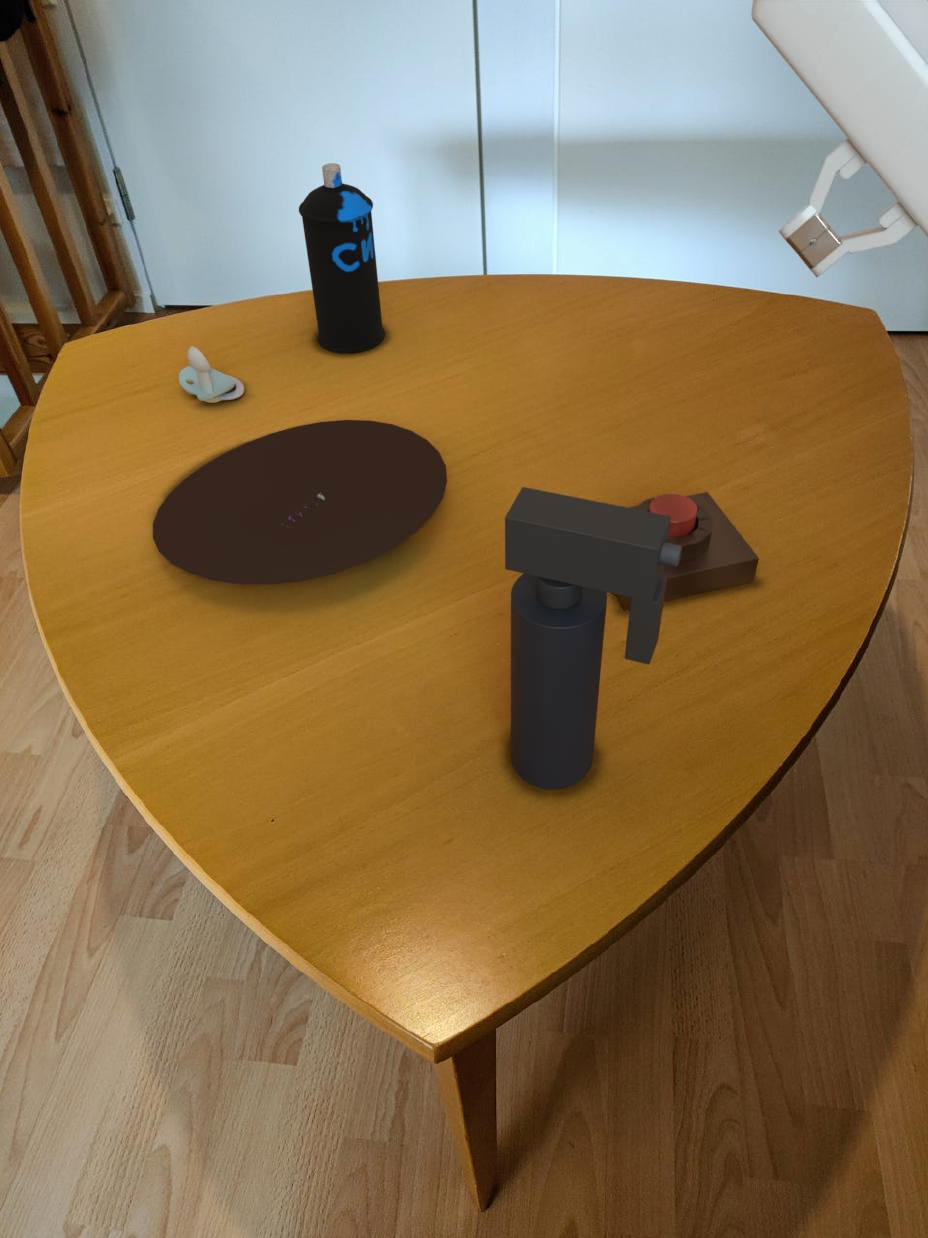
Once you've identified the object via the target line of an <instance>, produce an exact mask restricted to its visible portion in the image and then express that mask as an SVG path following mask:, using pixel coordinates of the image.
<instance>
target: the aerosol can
mask: <svg viewBox="0 0 928 1238" xmlns="http://www.w3.org/2000/svg"><path fill="white" fill-rule="evenodd" d="M321 171H322V178H323V185H320V186H318V187H316V188H315V189H313V190H311V191H310V192H309V193H308V194H307V195H306V197H305V198H304V200H303V201H302V202H300V204H299V206H298V213H299V215H300V216H301V220H302V227H303V234H304V241H305V248H306V254H307V255H306V256H307V261H308V267H309V275H310V282H311V289H312V296H313V302H314V303H313V304H314V311H315V317H316V318H315V319H316V325H317V331H318V333H317V339H316V340H317V342H318V344H319V345H320V347H321V348H323V349H324V350H327V351H330V352H331V353H337V354H357V353H363V352H366V351H369V350H371V349H374V348H375V347H378V346H379V345H380V344H381V343H382V342H383V341H384V340H385V337H386V330H385V328H384V326H383V319H382V308H381V299H380V288H379V287H380V286H379V278H378V276H379V275H378V268H377V267H378V266H377V256H376V246H375V238H374V237H375V236H374V226H373V217H372V216H373V214H372V211H373V208H374V202H373V200H372V199H371V198H370V197H369V196H367V195H366V194H365V193H364V192H363V191H361V190H360V189H359V188H358V187H356V186H354V185H351V184H347V183H343V180H342V179H343V177H342V170H341V165H340V164H339V163H337V162H336V163H334V162H330V163H325V164H323V165H322V166H321Z"/></svg>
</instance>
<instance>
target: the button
mask: <svg viewBox="0 0 928 1238" xmlns="http://www.w3.org/2000/svg"><path fill="white" fill-rule="evenodd" d="M685 496H686V495H682V494H677V493H664V494H661V495H658V496H655V497H653V498H654V499H653V500H652V502H651V503H650V507H649V512H652V513H657V514H662V515H667V516H670V517H671V520H670V528H669V535H668V537H681V536H686V535H688V534H690V533H691V532H692V531H693V529H694V527H695V522H696V515H697V507H696V505H695V503H694V502H693V501H692V500H691V499H689V498H687V497H685Z"/></svg>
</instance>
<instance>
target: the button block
mask: <svg viewBox="0 0 928 1238" xmlns="http://www.w3.org/2000/svg"><path fill="white" fill-rule="evenodd" d="M684 496H685V497H687V498H689V499H691V500H692V501H693V502H694V503H695V505H696V507H697V515H696V522H695V527H694V529H693V531H692V532H691V533H690V534H688V535H686V536H681V537H668V542H667V543H669V544H674V545H679V546H682V552H681V557H680V561H679V564H678V566H677V567H676V566H671V565H667V564H664V569H663V572H662V575H661V577H663V578H667V582H666V589H665V596H664V602H668V601H673V600H677V599H681V598H686V597H691V596H695V595H696V596H697V595H700V594H705V593H709V592H714V591H718V590H719V591H720V590H723V589H728V588H733V587H737V586H741V585H746V584H750V583H754V582H755V578H756V573H757V570H758V564H759V560H760V559H759V556H758V554H756V552H755V550H753V548H752V547H751V546H750V545H749V544H748V542H747V541H746V540H745V538H744V537H743V536H742V534H741V533H740V531H738V529H737V528H736V526H735V525H734V524H733V522H732V521H731V520H730V519H729V518H728V516H727V515H726V514H725V512H724V511H723V509H721V508H720V506H719V504H718V503H717V502H716V501H715V500H714V498H713V497H712V496H711V494H710V493H709V492H708V491H704V492H700V493H694V494H690V495H689V494H688V495H684ZM654 498H655V497H652V498H651V497H650V498H647V499H645V500H643V501H642V502H640V503H639V504H637V505H634V506H630V507H628V508H632V509H637V510H642V511H647V512H649V507H650V503H651V502H652V500H653V499H654ZM614 595H615V597H616V598H617V599H618V602H619V603H620V605H621V606H622V609H623V610H624V611H627V610H630V605H631V597H626V596H622V595H618V594H614Z"/></svg>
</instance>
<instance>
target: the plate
mask: <svg viewBox="0 0 928 1238" xmlns="http://www.w3.org/2000/svg"><path fill="white" fill-rule="evenodd" d="M447 473H448V472H447V465H446V463H445V461H444V459H443V457H442V455H441V453H440V451H439V450H438V449H437V448H436V447H435V446H434V445H433V444H432V443H431V442H430V441H429V440H428V439H426V438H425V437H423V436H421V435H419V434H418V433H416V432H415V431H413V430H410V429H408V428H404V427H403V426H399V425H395V424H392V423H387V422H383V421H382V422H380V421H376V420H367V419H366V420H365V419H363V420H362V419H339V420H338V419H337V420H329V421H328V420H327V421H319V422H312V423H308V424H304V425H302V424H301V425H297V426H293V427H290V428H286V429H282V430H279V431H275V432H271V433H269V434H266V435H262V436H260V437H257V438H255V439H252V440H250V441H247V442H245V443H243V444H241V445H238V446H236V447H234V448H232V449H230V450H229V451H226V452H224V453H222V454H220V455H219V456H217V457H215V458H214V459H212V460H211V461H209V462H207V463H205V464H203V465H202V466H200V467H199V468H198V469H196V470H194V471H193V472H192V473H191V474H189V475H188V476H187V477H185V478H184V479H183V480H182V481H181V482H180V483H179V484H178V485H177V486H175V487H174V488H173V489H172V490H171V491H170V492H169V493H168V494H167V496H166V497H165V498H164V500H163V501H162V503H161V504H160V506H159V507H158V508H157V511H156V513H155V516H154V519H153V522H152V539H153V541H154V544H155V546H156V549H157V551H158V553H160V554H161V556H163V557H164V558H165V560H167V561H168V562H169V563H170V564H171V565H173V566H174V567H177V568H179V569H181V570H182V571H184V572H186V573H188V574H190V575H192V576H197V577H199V578H203V579H205V580H208V581H209V580H210V581H213V582H219V583H226V584H227V583H229V584H234V585H235V584H236V585H280V584H288V583H298V582H305V581H310V580H314V579H318V578H322V577H326V576H332V575H335V574H339V573H342V572H344V571H348V570H350V569H353V568H356V567H358V566H361V565H364V564H368V563H369V562H371V561H374V560H375V559H377V558H379V557H382V556H383V555H385V554H386V553H389V552H391V551H393V550H394V549H396V548H397V547H399V546H400V545H402V544H404V542H406V541H407V540H408V539H410V538H411V537H413V536H414V535H416V534H417V533H418V532H419V531H420V530H421V528H422V527H424V526H425V524H427V522H428V521H429V520H431V518H432V517H433V516H434V514H435V513H436V512H437V509H438V508H439V506H440V504H441V503H442V501H443V499H444V496H445V492H446V489H447V486H448V485H447V484H448V474H447Z"/></svg>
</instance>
